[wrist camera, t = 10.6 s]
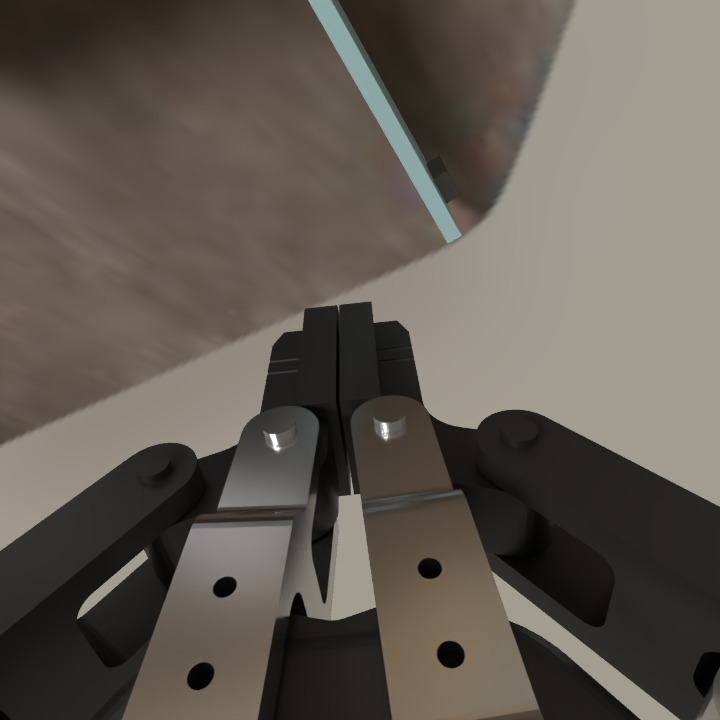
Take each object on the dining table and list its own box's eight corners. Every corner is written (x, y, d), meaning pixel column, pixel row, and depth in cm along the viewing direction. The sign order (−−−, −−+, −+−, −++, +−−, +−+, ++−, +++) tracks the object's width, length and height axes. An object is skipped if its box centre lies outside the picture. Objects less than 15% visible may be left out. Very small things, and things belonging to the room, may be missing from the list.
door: (445, 168, 24) (478, 228, 18) (418, 184, 24) (441, 249, 18) (211, -272, 16) (137, -409, 11) (177, -238, 17) (89, -353, 11)
